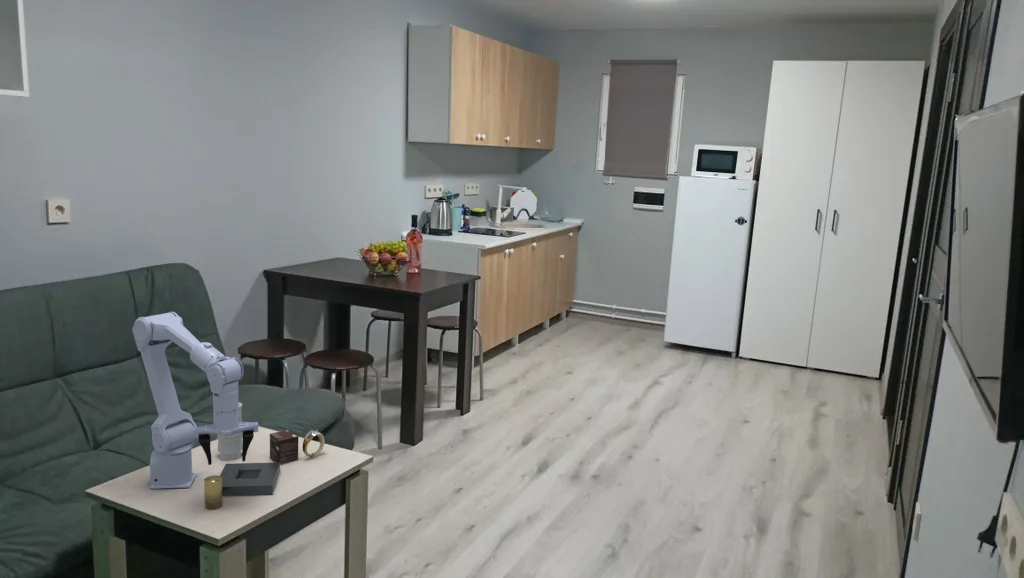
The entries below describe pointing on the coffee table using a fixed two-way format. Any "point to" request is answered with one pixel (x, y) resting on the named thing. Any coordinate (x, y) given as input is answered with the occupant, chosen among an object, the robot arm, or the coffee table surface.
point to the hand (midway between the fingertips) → (226, 461)
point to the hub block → (240, 474)
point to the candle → (230, 443)
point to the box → (284, 446)
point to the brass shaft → (213, 492)
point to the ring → (306, 442)
